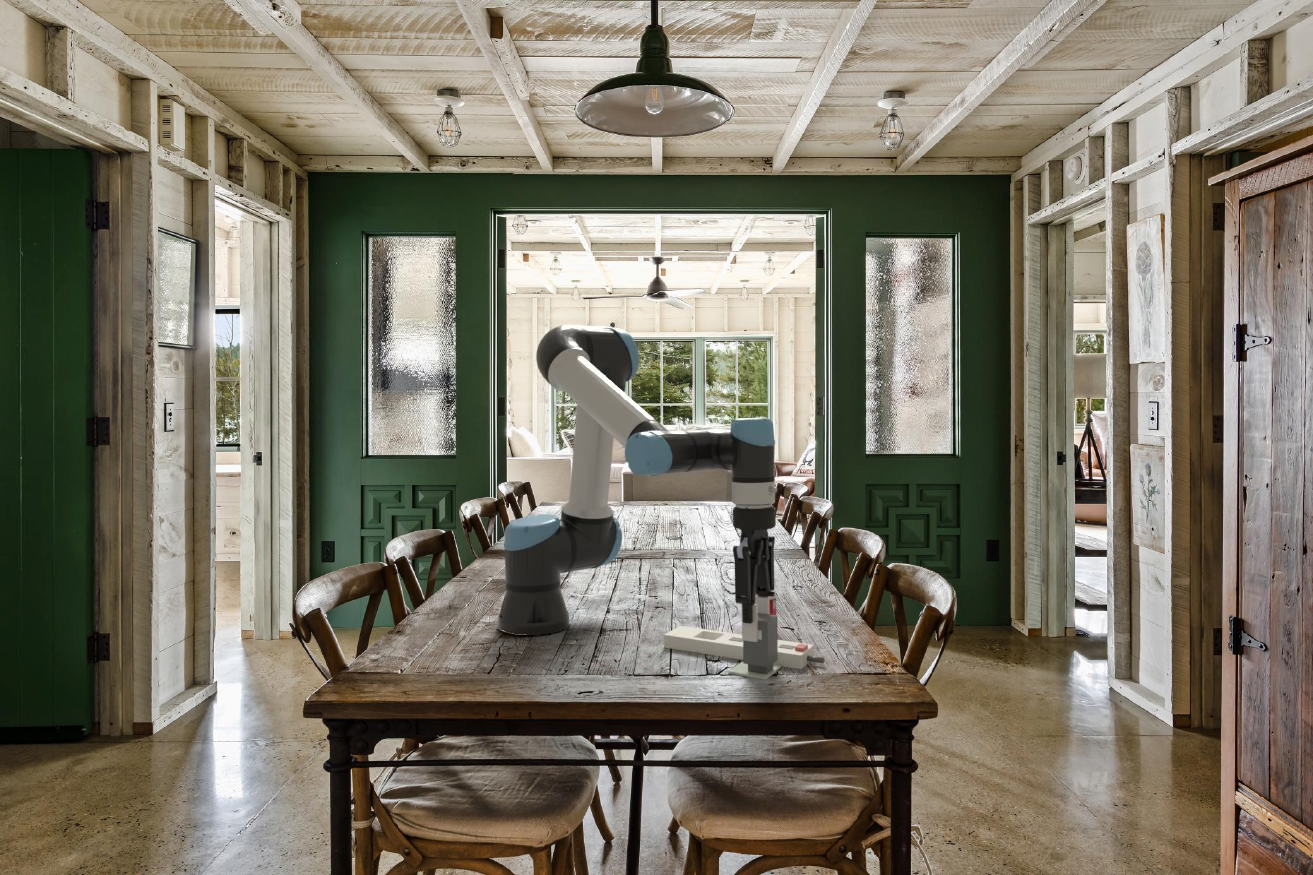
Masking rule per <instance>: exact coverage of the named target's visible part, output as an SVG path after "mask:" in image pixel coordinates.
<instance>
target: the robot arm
mask: <svg viewBox="0 0 1313 875" xmlns="http://www.w3.org/2000/svg"><path fill="white" fill-rule="evenodd" d="M637 346H638V345H637V344H636V342H635V340H634V339H633V337H632V336H631V334H630V333H629V332H627V331H626V330H625V329H622V328H618V327H617V328H616V327H611V326H600V325H599V326H597V325H596V326H594V325H574V324H564V325H559V326H556V327H554V328H552V329H550V330H549V331H547V332H546V334H544V336H543V337H542V338H541V340H539V344H538V346H537V349H536V353H535V354H536V355H535V356H536V357H535V358H536V359H535V360H536V365H537V369H538V370H539V372H540V375H541V376H542V378H544V380H545V381H546V383H548V384H549V385H550V386H551V387H552V388H553V389H554V390H556V391H558V392H565V393H566V394H567V395H568V396H569V397H570V398H571V399H573V401H575V402H576V403H577V404H576V416H575V424H574V425H575V427H574V439H573V450H572V451H573V452H572V462H571V473H570V474H571V476H570V487H569V497H568V501H567V502H565V504H564V505H563V506H561V511H560V513H561V514H560V518H559V516H557V515H556V514H549V513H548V514H547V513H546V514H544V513H543V514H538V515H528V516H525V517H520V518H517V519H514V520H513V521H511V522H510V523H508V525H507V526H506V527H505V530H504V540H503V541H504V542H503V548H504V572H505V594H504V597H503V601H502V604H501V607H500V612H499V614H498V617H497V627H499V628H500V629H501V630H504V631H506V632H510V633H514V634H527V635H528V634H530V635H536V636H539V635H538V634H545V635H550V634H549V633H551V634H554V633H553V632H555V633H557V632H558V631H559V632H561V631H560V630H562V631H564V630H566V629H567V628H569V627H570V612H569V611H568V609H567V605H566V602H565V599H564V595H563V594H562V588H561V574H564V573H570V572H571V573H572V572H577V571H583V570H589V569H597V568H599V567H603V566H606V565H608V564H611V563H612V562H613V561H614V560H615V559H617V556H618V555H619V553H620V550H621V547H622V542H623V531H622V529H620V527H621V525H620V524H621V523H620V521H618V519H617V518H616V516H614V510H613V509H612V507H610V505H609V504H608V502H609V495H610V494H609V491H610V484H611V483H610V480H611V469H612V458H613V449H614V448H613V447H614V439H615V440H616V441H617V442H618V443H619V444H620V445H621V446H622V447H624V458H625V462H627V466H628V468H629V469H630V471H631V472H632V473H634V474H636V475H637V476H650V477H657V476H663V475H669V474H670V475H671V474H679V473H680V474H681V473H692V472H701V471H702V472H703V471H731V502H732V504H734V507H733V508H732V527H733V528H735V529H737V530H740V531H741V533H740V540H739V545H733V547H732V553H733V560H734V596H735V598H734V599H735V603H736V604H740V605H741V635H742V640H744V641H752V642H758V613H762V614H770V606H769V597H768V596H771V597H774V595H775V593H776V591H775V551H774V550H775V541H776V538H775V536H774V535H769V531H768V530H771V529H773V528H775V527H776V526H777V525H776V524H777V523H776V521H777V520H776V516H777V515H776V513H777V512H776V508H775V506H774V505H773V504H774V503H776V493H777V492H778V488H777V487H776V483H775V482H776V481H775V480H776V478H775V450H776V448H775V447H776V446H775V445H776V440H775V430H774V423H773V421H772V420H771V419H770V418H768V417H745V418H744V417H743V418H742V417H741V418H734V419H732V420H731V422H730V429H726V428H725V429H724V428H723V429H720V428H719V429H718V428H709V427H708V428H705V427H704V428H696V429H685V430H684V429H683V430H669V429H667V428H666V427H665V426H663V425H662V424H661V423H660V422H659V421H657V420H656V419H655V418H654V417H653V416H652V415H651V414H649V412H647V411H646V410H645V409H644V408H642V407H641V406H640V405H639V404H638V403H637V402H636V401H634V400H633V399H632V398H631V397H630V396H629V395H628V394H626V393H625V392H626V385H627V382H630V381H631V380H633V379H634V377H635V375H636V374H637V372H638V370H639V366H640V354H639V349H638V347H637ZM771 590H772V591H773V590H774V591H775V592H771ZM756 595H758V596H756ZM563 629H564V630H563Z"/></svg>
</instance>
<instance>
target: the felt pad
mask: <svg viewBox="0 0 1313 875" xmlns="http://www.w3.org/2000/svg"><path fill="white" fill-rule="evenodd" d="M781 668H782V666H779V665H773V669H772V670H771V671H770V672H768V673H767V674H761V673H755V672H749V671H748V664H744V663H743V661H741V662H740V663H738V664H737V665H736V666H734V667H732V668H731V669H730V670H729V671H728V674H730V675H736V676H742V677H745V678H746V677H747V678H753V679H759V680H764V681H765V680H767V679H769V678H770V677H771V676H772V675H775V673H777V672H778V671H779V670H780V669H781Z"/></svg>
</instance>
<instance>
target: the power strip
mask: <svg viewBox="0 0 1313 875" xmlns="http://www.w3.org/2000/svg"><path fill="white" fill-rule="evenodd" d="M663 648H667V649H673V650H679V651H683V652H684V651H685V652H693V653H698V654H704V655H709V656H716V657H720V658H721V657H722V658H727V659H728V658H729V659H735V660H741V661H743V640H742V633H741V634H740V633H733V632H726V631H719V630H713V629H707V628H699V627H698V628H697V627H693V626H684V625H679V626H677V627H676V628H674V629H672V630H670V631H668V632H666V633H665V634H663ZM810 662H812V663H818V664H825V658H824V657H819V656H815V644H809V643H803V642H796V641H788V640H781V639H778V660H777V661H776V662H774V663H773V665H779V666H781V667H783V668H784V667H785V668H791V669H795V670H796V669H797V670H802V669H803V668H804V667H806V666H807V665H809V663H810Z"/></svg>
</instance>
